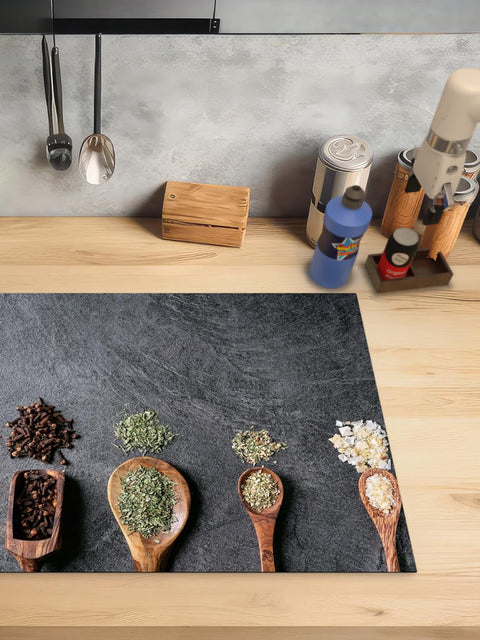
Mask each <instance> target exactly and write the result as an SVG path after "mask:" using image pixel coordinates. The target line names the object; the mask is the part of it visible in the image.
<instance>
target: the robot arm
mask: <svg viewBox="0 0 480 640" xmlns="http://www.w3.org/2000/svg"><path fill="white" fill-rule="evenodd" d="M444 84H445V85H444V86H443V90H442V91H441V95H440V97H439V101H438V104H437V107H436V109H435V111H434V114H433V117H432V120H431V122H430V125H429V127H428V131H427V134H426V135H425V136H424V139H423V141H422V142H421V145H420V146H416V147H415V146H414V147H413V149H412V158H411V160H410V163H411V168H410V169H409V171H408V173H409V174H408V175H409V176H408V178H407V181H406V184H405V187H404V193H406V194H411V193H418V192H420V191H421V189H422V190H423V192H424V193H425V194H426V196H427V197H428V199H430V201H429V202H430V207H429V208H427V210H426V213H425V215H424V218H423V220H422V225H423V226H432V225H438V224H439V223H440V221H441V219H442V217H443V214H444V212H449V211H450V210H451V209H452V208H454V207H455V200H454V199H455V198H454V195H455V194H456V191H457V189H458V186H459V183H460V181H461V178H462V175H463V173H464V172H463V171H464V167H465V163H466V159H467V152H466V151H467V149H468V147H469V144H470V142H471V140H472V137H473V135H474V133H475V131H476V129H477V126H478V124H479V123H480V69H477V68H474V67H463V68H459V69H456V70H454V71H453V72H451V73H450V74H449V76H448V77H447V80H446V82H445V83H444ZM440 193H441V194H440ZM437 199H441V201H440V202H441V203H440V204H439V205H437Z"/></svg>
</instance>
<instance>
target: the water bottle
mask: <svg viewBox="0 0 480 640" xmlns="http://www.w3.org/2000/svg"><path fill="white" fill-rule="evenodd" d="M365 196H366V192H365V190H364V188H362V187H361V186H360V185H357V184H355V185H351V186H348V187H346V188H345V191H344V192H343V194H342V195H338V196H335V197H333V198H331V199H330V200H329V201H328V202H327V204H326V206H325V209H324V213H323V218H322V230H321V233H320V235H319V237H318V239H317V241H316V243H315V247H314V249H313V253H312V254H313V255H312V257H311V261H310V264H309V267H308V275H309V277H310V279H311V281H312V282H313V283H315V285H317V286H319V287H322V288H325V289H331V290H335V289H338V288H342V287H344V286H345V285H346V284H347V283H348V281H349V279H350V277H351V274H352V271H353V268H354V266H355V263H356V260H357V258H358V254H359V250H360V245H361V244H360V243H361V241H362V239H363V237H364V235H365V233H366V232H367V230H368V229H369V226H370V223H371V220H372V218H373V210H372V208H371V206H370V205H369V204H368V203H367V202H366V201H365Z"/></svg>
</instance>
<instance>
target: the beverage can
mask: <svg viewBox="0 0 480 640" xmlns="http://www.w3.org/2000/svg"><path fill="white" fill-rule="evenodd" d="M419 244H420V243H419V235H418V233H417V232H415V230H413V229H411V228H408V227H399V228H397V229H394V232H393V233H391V234H390V235H389V236H388V238H387V241H386V244H385V246H384V249H383V251H382V253H383V254H382V256H381V259H380V261H379V264H378V266H377V268H378V270H379V272H380V274H381V276H382V278H383V280H388V279H396V278H404V277H405V275H406V273H407V271H408V269H409V266H410V264H411V262H412V260H413V258H414V255H415V253H416V251H417V249H419Z"/></svg>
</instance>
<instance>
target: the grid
mask: <svg viewBox="0 0 480 640" xmlns="http://www.w3.org/2000/svg"><path fill="white" fill-rule="evenodd" d="M428 248H429V247H424V248H423V247H422V248H418V249H417V251H416V253H415V255H414V258H413V260H412V262H411V264H410V266H409V269H408V271H407V273H406V275H405V277H404V278H396V279H388V280H383V278H382V276H381V274H380V272H379V270H378V268H377V266H378V264H379V261H380V259H381V256H382V254H383V252H378V253H370V254H368V255H367V256H366V259H365V262H364V268H365V270H366V272H367V275H368V277H369V279H370V281H371V283H372V286H373V288H374V291H375V292H376V294H382V293H384V294H385V293H392V292H399V291H400V292H401V291H409V290H419V289H426V288H427V289H428V288H435V287H443V286H449V284H450V282H451V280H452V278H453V277H454V272H453V271H452V268H451V267H450V265H449V263H448V262H447V260H446V257H445V256H444V254H443V252H442V251H441V252H438V254H437V258H436V261H435V260H434V259H433V258H430V257H429V258H426V257H427V256H428V253H429V251H430V250H429V249H428Z"/></svg>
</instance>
